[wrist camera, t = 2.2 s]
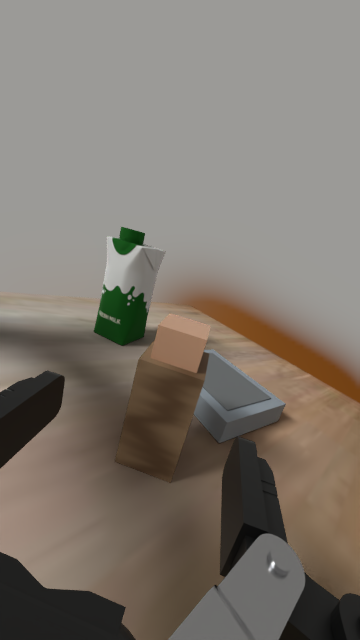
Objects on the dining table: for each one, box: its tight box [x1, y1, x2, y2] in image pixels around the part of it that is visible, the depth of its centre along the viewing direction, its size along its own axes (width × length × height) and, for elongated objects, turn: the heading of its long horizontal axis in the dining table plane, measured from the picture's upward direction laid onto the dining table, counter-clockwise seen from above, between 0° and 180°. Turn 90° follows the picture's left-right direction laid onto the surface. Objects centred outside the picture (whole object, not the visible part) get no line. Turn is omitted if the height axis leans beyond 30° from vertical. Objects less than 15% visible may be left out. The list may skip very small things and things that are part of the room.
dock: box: [194, 350, 286, 443], centre depth 38 cm, size 16×12×3 cm
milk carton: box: [94, 227, 166, 346], centre depth 47 cm, size 9×9×20 cm
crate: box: [115, 340, 209, 483], centre depth 24 cm, size 6×6×11 cm
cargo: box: [150, 313, 210, 373], centre depth 22 cm, size 4×4×3 cm
